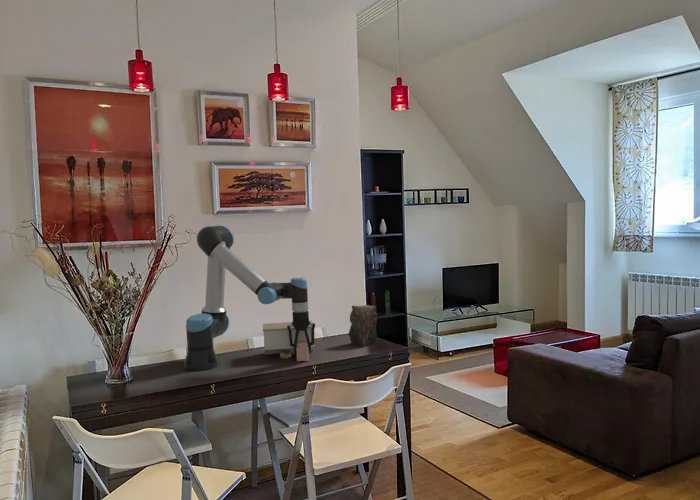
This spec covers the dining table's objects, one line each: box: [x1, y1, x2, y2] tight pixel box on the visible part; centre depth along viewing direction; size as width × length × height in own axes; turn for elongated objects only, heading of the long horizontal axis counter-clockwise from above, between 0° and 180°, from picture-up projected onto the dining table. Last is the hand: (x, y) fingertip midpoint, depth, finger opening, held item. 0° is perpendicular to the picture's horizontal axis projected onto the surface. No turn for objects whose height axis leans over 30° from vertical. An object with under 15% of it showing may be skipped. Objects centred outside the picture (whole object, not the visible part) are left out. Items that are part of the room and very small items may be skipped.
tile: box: [279, 351, 292, 359], centre depth 262 cm, size 5×5×2 cm
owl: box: [348, 304, 378, 348], centre depth 284 cm, size 13×13×20 cm
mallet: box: [284, 341, 309, 362], centre depth 260 cm, size 10×17×9 cm, turn 9°
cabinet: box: [262, 320, 316, 355], centre depth 266 cm, size 25×15×15 cm, turn 99°
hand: (302, 360), depth 254 cm, fingers closed on mallet, 4 cm apart
